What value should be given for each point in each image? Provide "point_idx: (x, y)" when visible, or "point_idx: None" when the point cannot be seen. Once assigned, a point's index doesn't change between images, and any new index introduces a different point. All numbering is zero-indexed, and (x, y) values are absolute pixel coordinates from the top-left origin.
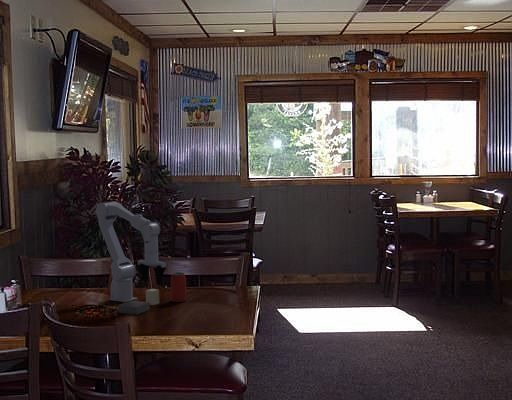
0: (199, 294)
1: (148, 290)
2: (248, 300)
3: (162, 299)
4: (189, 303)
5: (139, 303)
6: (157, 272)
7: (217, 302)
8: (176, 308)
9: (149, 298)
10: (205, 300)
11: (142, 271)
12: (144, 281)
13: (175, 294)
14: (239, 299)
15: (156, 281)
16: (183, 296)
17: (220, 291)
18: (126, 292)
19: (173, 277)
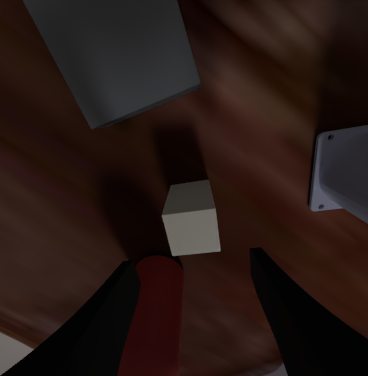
0: (186, 337)
1: (198, 215)
2: None
3: (221, 257)
4: (107, 269)
5: (102, 71)
6: (23, 361)
7: (70, 310)
8: (66, 206)
9: (187, 193)
10: None
11: (303, 338)
12: (251, 252)
13: (139, 277)
14: None
15: (120, 271)
16: None
17: None
18: (357, 167)
19: (125, 365)
